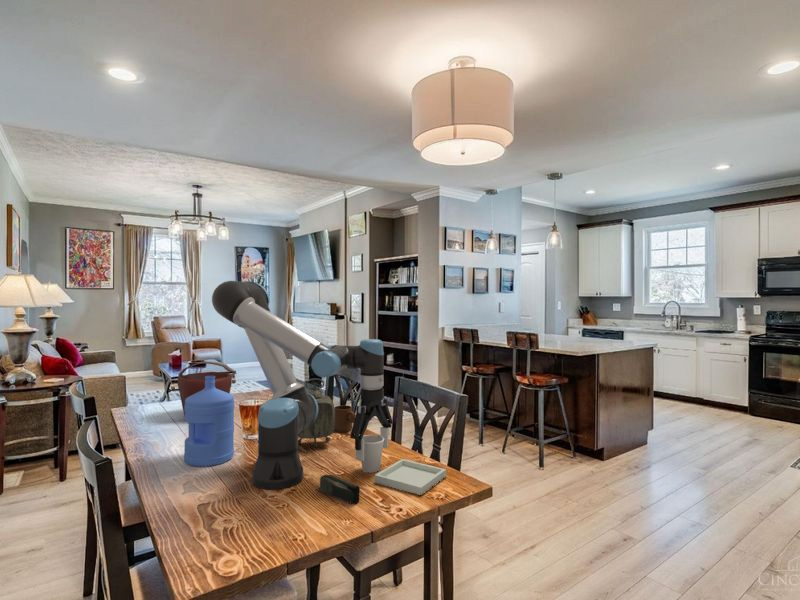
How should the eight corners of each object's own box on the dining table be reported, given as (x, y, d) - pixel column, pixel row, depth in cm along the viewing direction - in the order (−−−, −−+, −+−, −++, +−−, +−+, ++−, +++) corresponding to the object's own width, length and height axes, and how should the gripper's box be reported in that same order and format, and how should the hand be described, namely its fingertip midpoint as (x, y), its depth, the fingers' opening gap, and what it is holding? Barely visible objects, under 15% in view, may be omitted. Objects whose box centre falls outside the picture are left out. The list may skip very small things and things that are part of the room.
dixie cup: (384, 464, 149) (384, 434, 149) (383, 474, 141) (384, 442, 141) (358, 464, 149) (359, 434, 149) (357, 474, 141) (357, 442, 141)
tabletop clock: (331, 439, 174) (332, 375, 174) (335, 447, 165) (336, 379, 165) (293, 443, 170) (294, 377, 169) (295, 451, 161) (296, 381, 161)
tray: (421, 496, 126) (421, 487, 126) (374, 483, 135) (374, 475, 135) (446, 477, 140) (446, 469, 140) (402, 466, 148) (402, 458, 148)
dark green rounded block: (361, 484, 123) (321, 470, 131) (354, 488, 120) (314, 473, 128) (360, 502, 123) (320, 487, 131) (353, 506, 120) (313, 490, 129)
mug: (361, 432, 183) (362, 409, 183) (346, 436, 178) (346, 412, 178) (345, 426, 192) (345, 404, 192) (330, 429, 188) (330, 406, 187)
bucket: (243, 412, 212) (244, 359, 211) (214, 426, 190) (214, 367, 190) (198, 409, 217) (198, 357, 217) (164, 421, 196) (165, 364, 196)
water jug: (216, 447, 164) (217, 371, 163) (243, 457, 154) (244, 376, 154) (174, 460, 151) (175, 377, 150) (200, 471, 142) (201, 382, 141)
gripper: (357, 396, 132) (358, 468, 132) (402, 382, 153) (402, 444, 154) (338, 393, 136) (338, 463, 136) (384, 380, 157) (384, 440, 158)
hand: (372, 453), depth 145 cm, fingers open, 13 cm apart
